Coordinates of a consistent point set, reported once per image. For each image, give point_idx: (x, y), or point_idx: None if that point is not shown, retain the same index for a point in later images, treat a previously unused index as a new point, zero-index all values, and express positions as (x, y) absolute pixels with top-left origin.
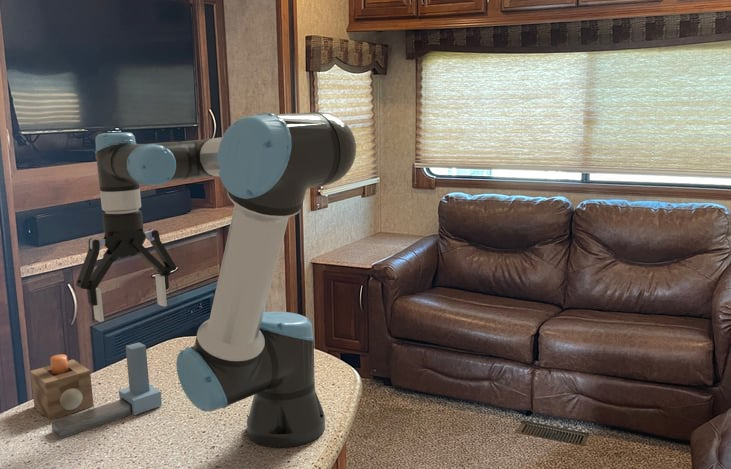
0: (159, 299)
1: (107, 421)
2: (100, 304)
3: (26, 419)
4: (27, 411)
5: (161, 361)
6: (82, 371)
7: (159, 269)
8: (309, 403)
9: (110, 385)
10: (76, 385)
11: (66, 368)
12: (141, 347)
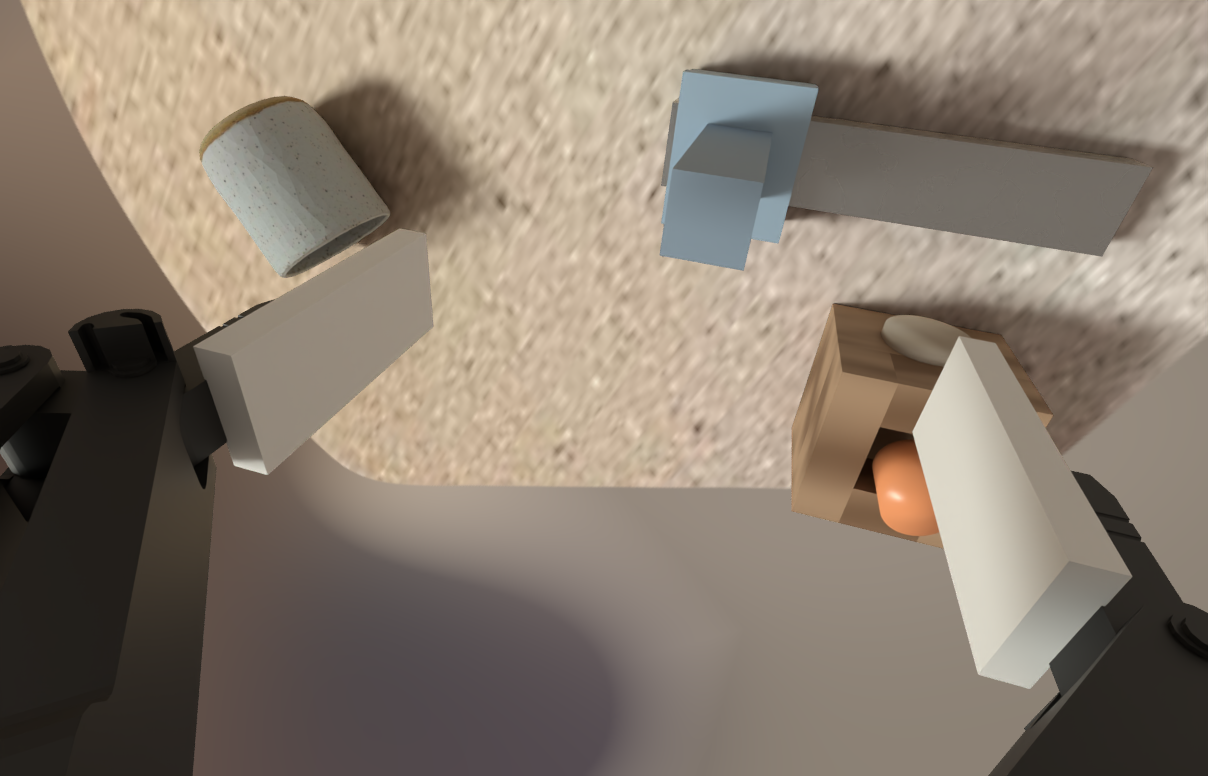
0: (406, 313)
1: (916, 130)
2: (1025, 433)
3: None
4: None
5: (480, 400)
6: (867, 389)
7: (159, 419)
8: None
9: (688, 389)
10: (903, 361)
11: (899, 451)
12: (702, 171)
